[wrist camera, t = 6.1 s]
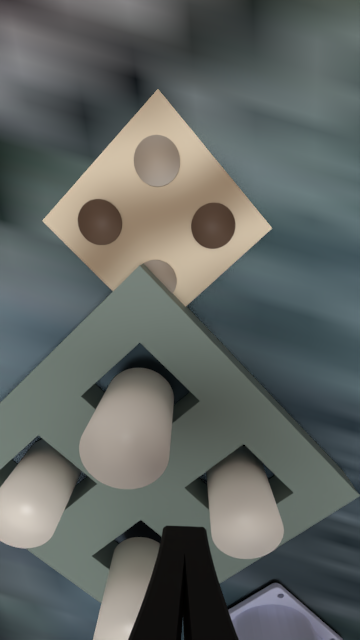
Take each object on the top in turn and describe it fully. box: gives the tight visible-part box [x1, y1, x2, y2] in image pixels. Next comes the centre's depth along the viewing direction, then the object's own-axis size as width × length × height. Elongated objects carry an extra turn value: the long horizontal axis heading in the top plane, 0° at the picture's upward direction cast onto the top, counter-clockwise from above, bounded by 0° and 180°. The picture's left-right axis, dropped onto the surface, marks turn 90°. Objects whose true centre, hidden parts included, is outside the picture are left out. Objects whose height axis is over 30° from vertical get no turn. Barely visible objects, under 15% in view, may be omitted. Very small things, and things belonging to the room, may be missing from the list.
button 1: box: [93, 537, 160, 640], centre depth 18 cm, size 4×4×4 cm
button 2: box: [0, 439, 82, 548], centre depth 18 cm, size 4×4×4 cm
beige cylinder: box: [206, 446, 284, 559], centre depth 18 cm, size 4×4×4 cm
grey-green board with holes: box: [0, 263, 360, 603], centre depth 20 cm, size 20×20×2 cm
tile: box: [43, 89, 272, 307], centre depth 16 cm, size 9×9×1 cm
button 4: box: [79, 368, 174, 489], centre depth 15 cm, size 4×4×4 cm
